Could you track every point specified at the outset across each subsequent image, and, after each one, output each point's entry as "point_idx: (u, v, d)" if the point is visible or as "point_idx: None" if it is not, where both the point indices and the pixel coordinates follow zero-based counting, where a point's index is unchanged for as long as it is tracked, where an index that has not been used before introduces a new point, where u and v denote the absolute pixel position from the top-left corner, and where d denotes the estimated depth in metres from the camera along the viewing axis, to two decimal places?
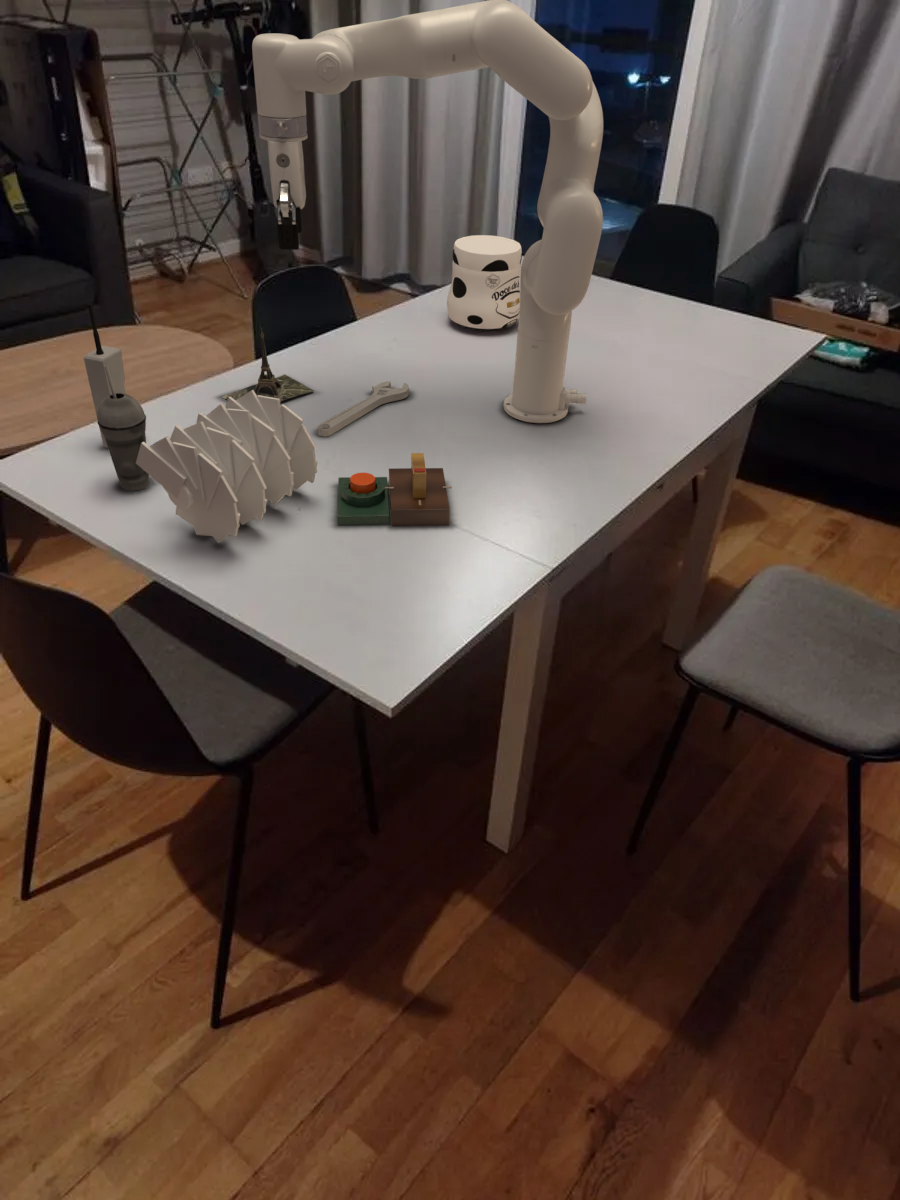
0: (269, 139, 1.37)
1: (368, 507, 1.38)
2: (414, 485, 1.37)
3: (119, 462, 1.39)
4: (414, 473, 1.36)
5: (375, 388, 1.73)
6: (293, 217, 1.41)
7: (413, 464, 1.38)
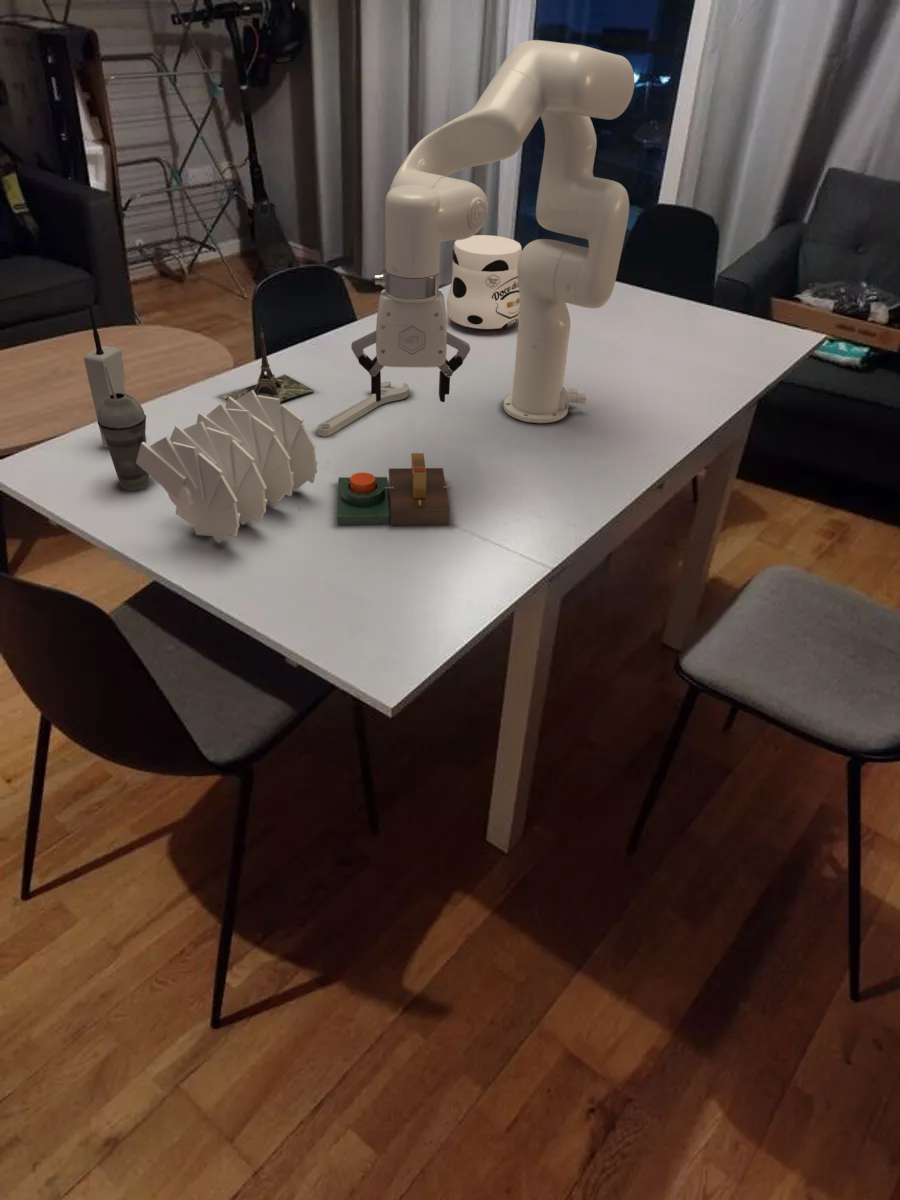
0: None
1: (368, 507, 1.38)
2: (414, 485, 1.37)
3: (119, 462, 1.39)
4: (414, 473, 1.36)
5: None
6: (371, 367, 1.29)
7: (413, 464, 1.38)
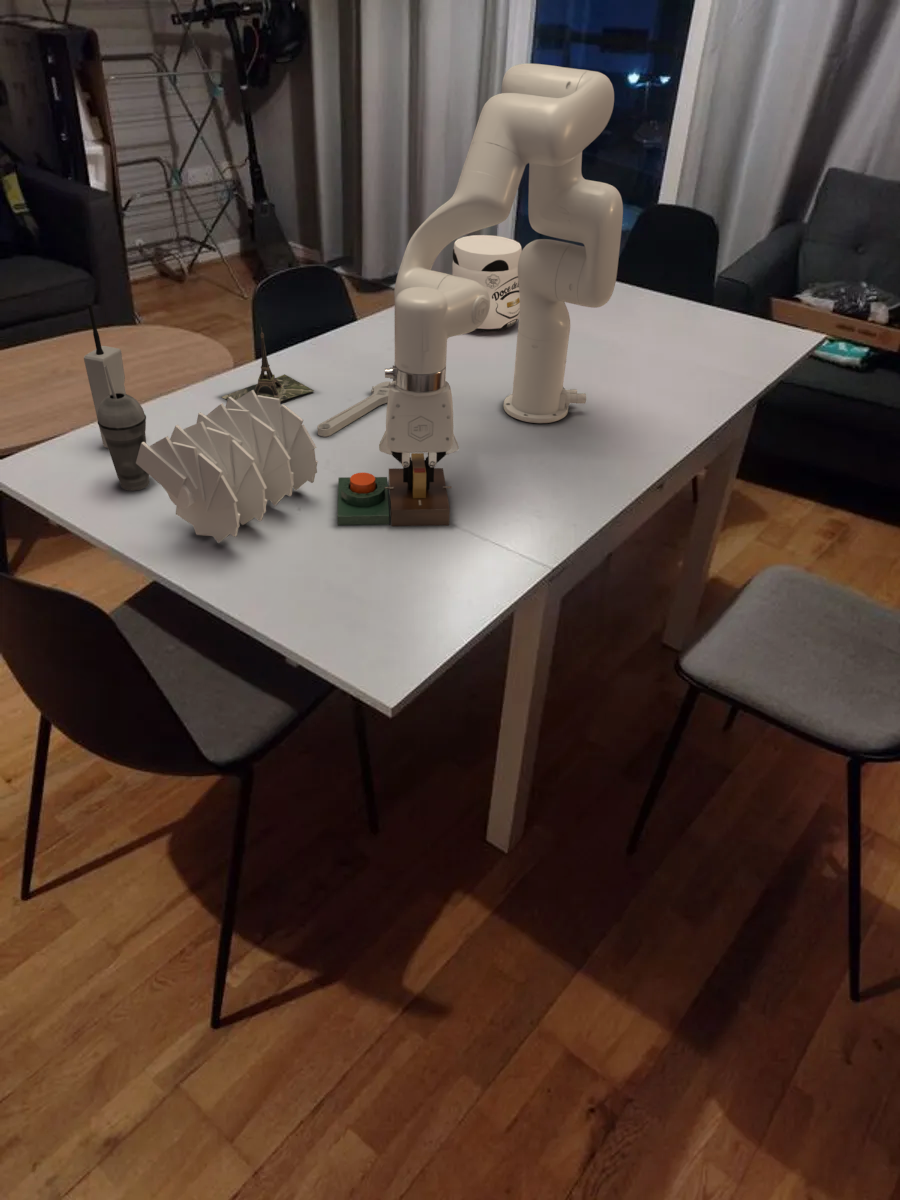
0: None
1: (368, 507, 1.38)
2: (414, 485, 1.37)
3: (119, 462, 1.39)
4: (414, 473, 1.36)
5: (375, 388, 1.73)
6: (401, 461, 1.37)
7: (413, 464, 1.38)
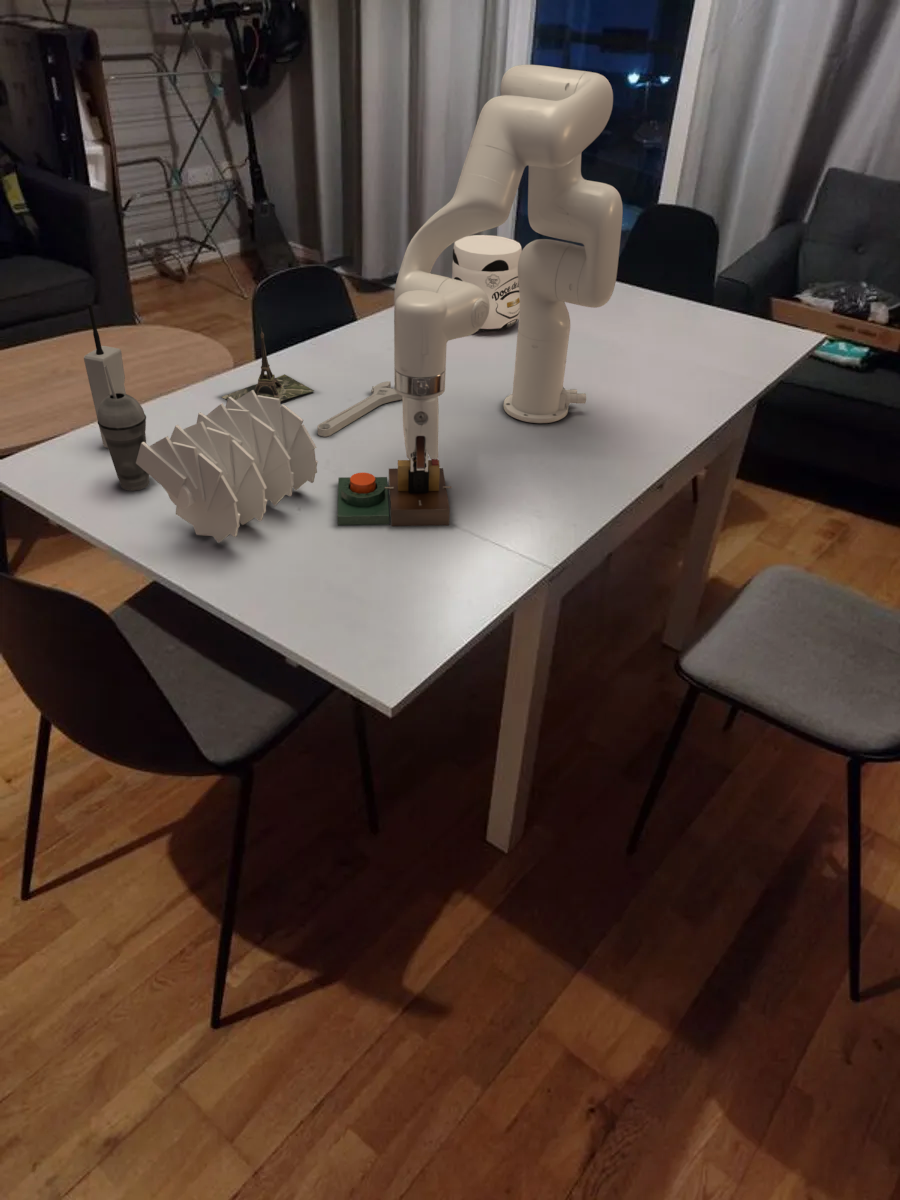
0: (406, 396, 1.28)
1: (368, 507, 1.38)
2: None
3: (119, 462, 1.39)
4: (439, 465, 1.38)
5: (375, 388, 1.73)
6: (426, 469, 1.36)
7: None
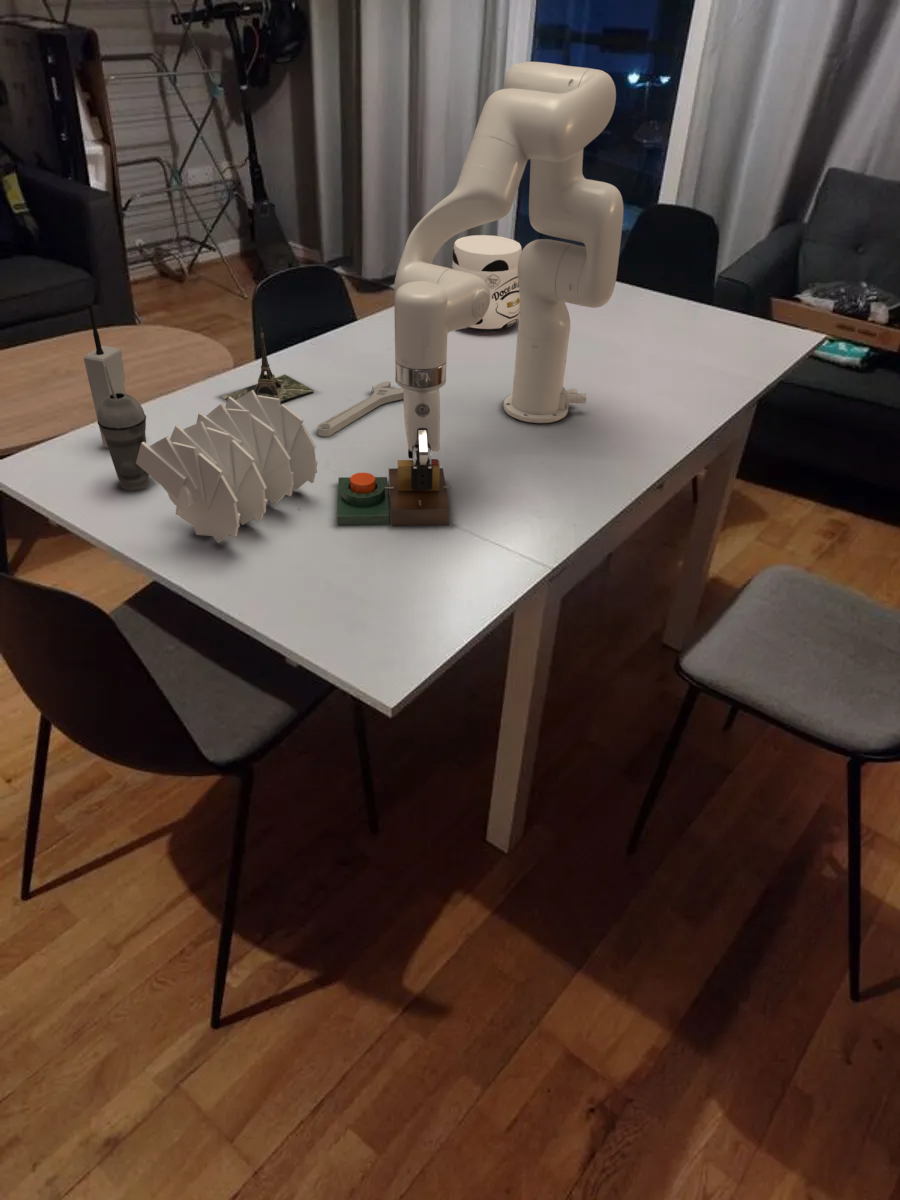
0: (408, 388, 1.27)
1: (368, 507, 1.38)
2: None
3: (119, 462, 1.39)
4: (439, 465, 1.38)
5: (375, 388, 1.73)
6: (429, 462, 1.32)
7: None
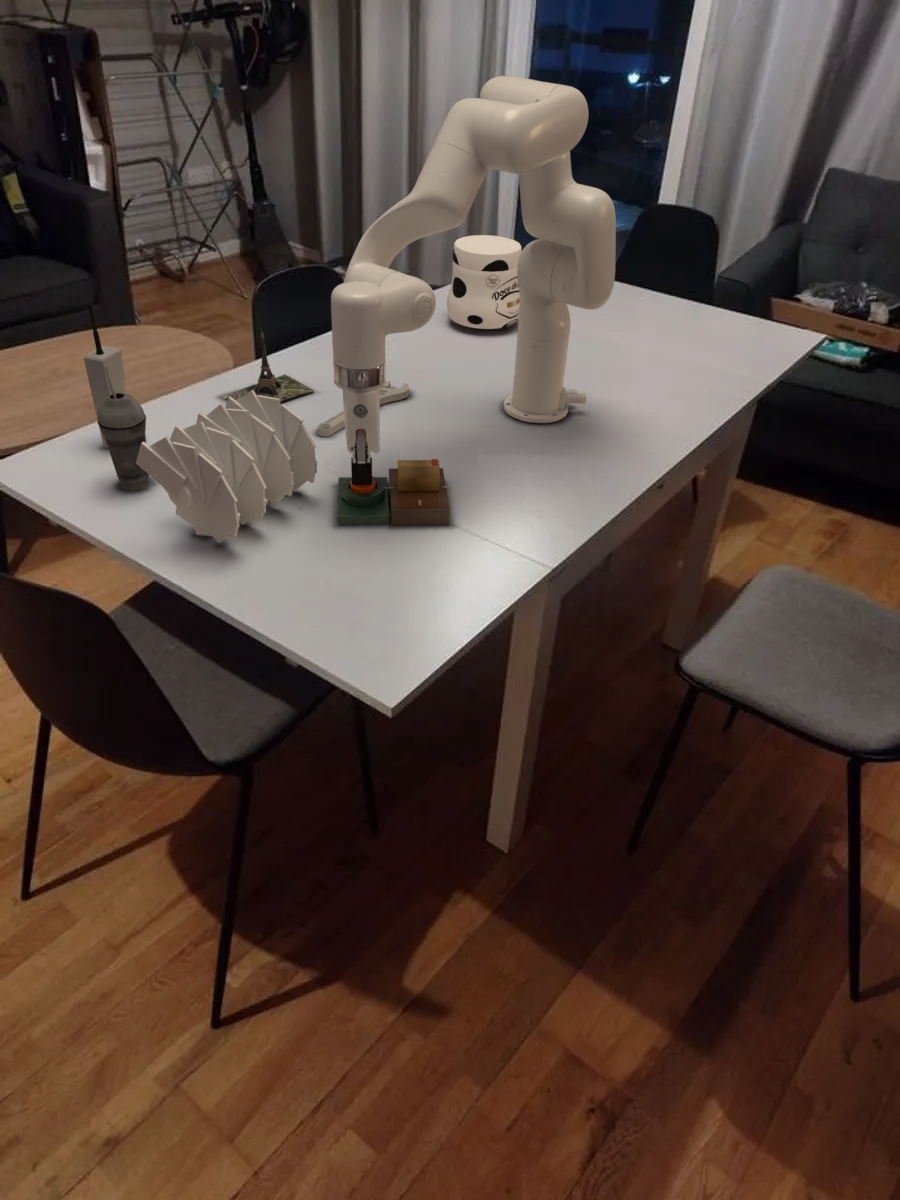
0: (345, 388, 1.26)
1: (368, 507, 1.38)
2: None
3: (119, 462, 1.39)
4: (439, 465, 1.38)
5: None
6: (368, 461, 1.35)
7: (421, 465, 1.38)
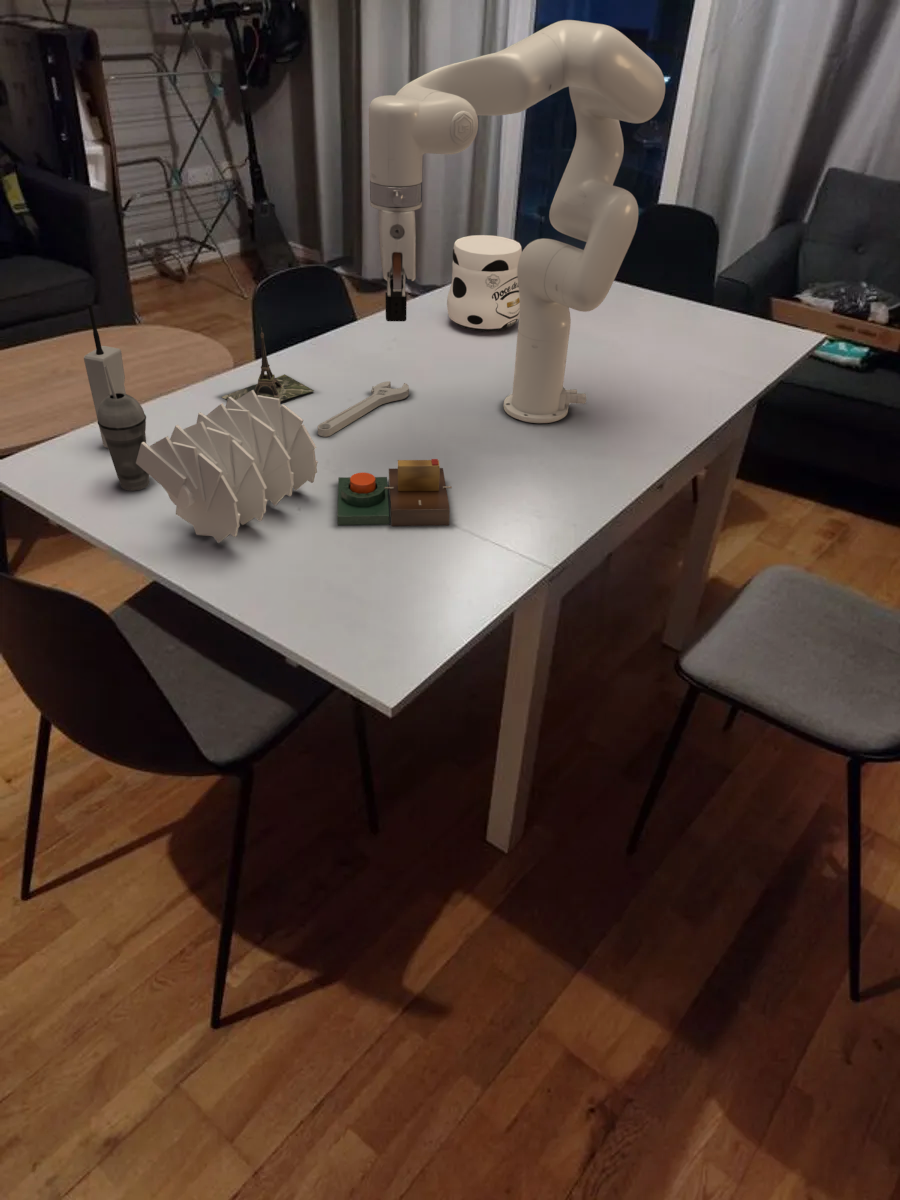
0: (382, 208, 1.25)
1: (368, 507, 1.38)
2: None
3: (119, 462, 1.39)
4: (439, 465, 1.38)
5: (375, 388, 1.73)
6: (403, 293, 1.34)
7: (421, 465, 1.38)
